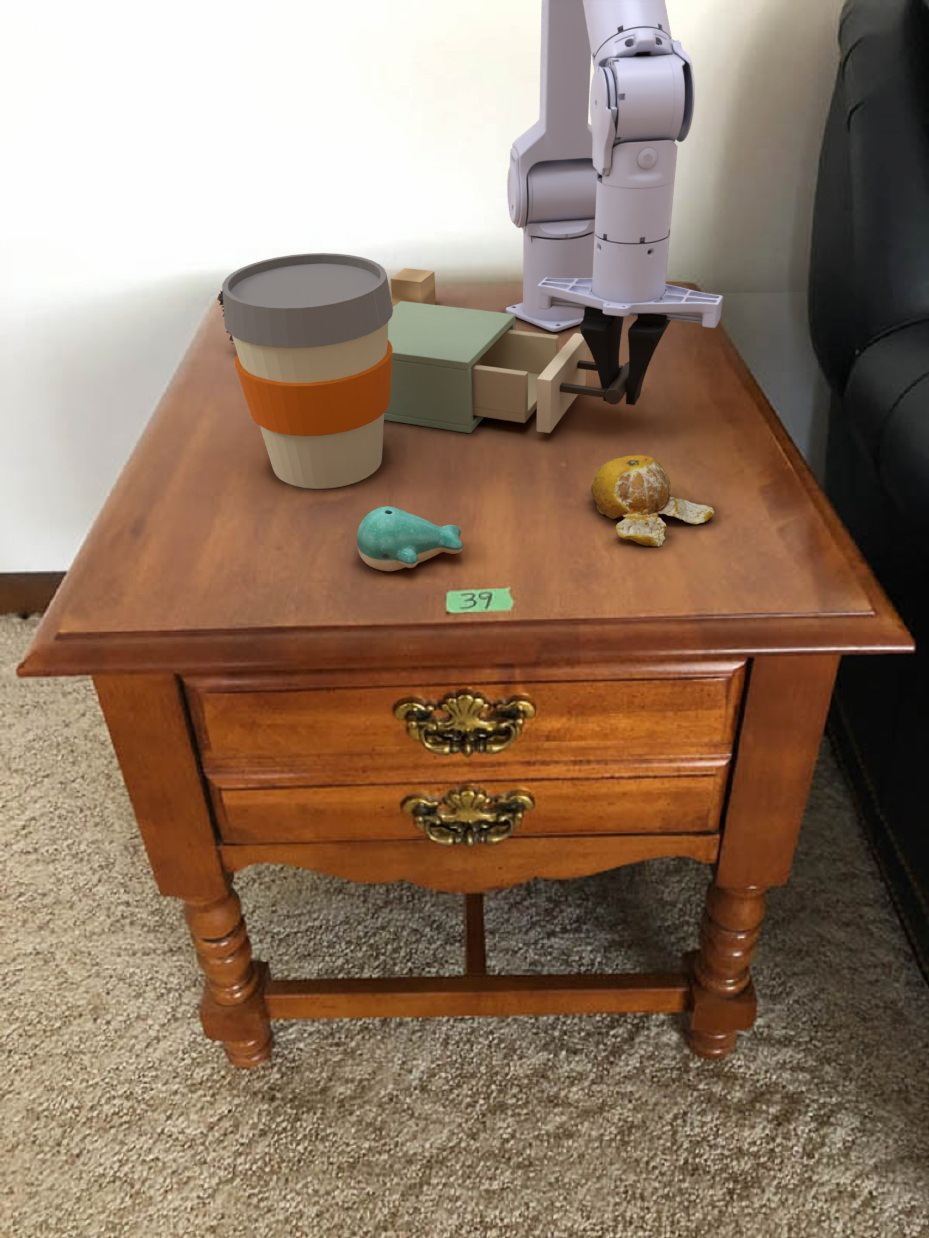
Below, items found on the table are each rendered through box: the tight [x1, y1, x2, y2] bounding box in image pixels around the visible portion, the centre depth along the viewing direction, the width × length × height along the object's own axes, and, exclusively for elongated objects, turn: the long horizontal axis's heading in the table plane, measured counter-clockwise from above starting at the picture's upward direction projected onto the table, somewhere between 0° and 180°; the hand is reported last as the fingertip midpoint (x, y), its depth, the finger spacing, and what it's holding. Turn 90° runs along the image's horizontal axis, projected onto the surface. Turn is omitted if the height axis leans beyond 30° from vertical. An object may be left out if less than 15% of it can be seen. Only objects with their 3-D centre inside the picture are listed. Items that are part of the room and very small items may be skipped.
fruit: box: [590, 454, 715, 547], centre depth 75 cm, size 8×8×4 cm
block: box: [390, 267, 437, 307], centre depth 111 cm, size 4×4×4 cm
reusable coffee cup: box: [221, 252, 393, 490], centre depth 80 cm, size 13×13×15 cm
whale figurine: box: [356, 505, 464, 572], centre depth 71 cm, size 6×7×4 cm
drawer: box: [471, 329, 629, 434], centre depth 88 cm, size 16×10×5 cm, turn 68°
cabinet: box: [384, 301, 517, 434], centre depth 92 cm, size 11×11×6 cm
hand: (621, 398), depth 87 cm, fingers closed on drawer
